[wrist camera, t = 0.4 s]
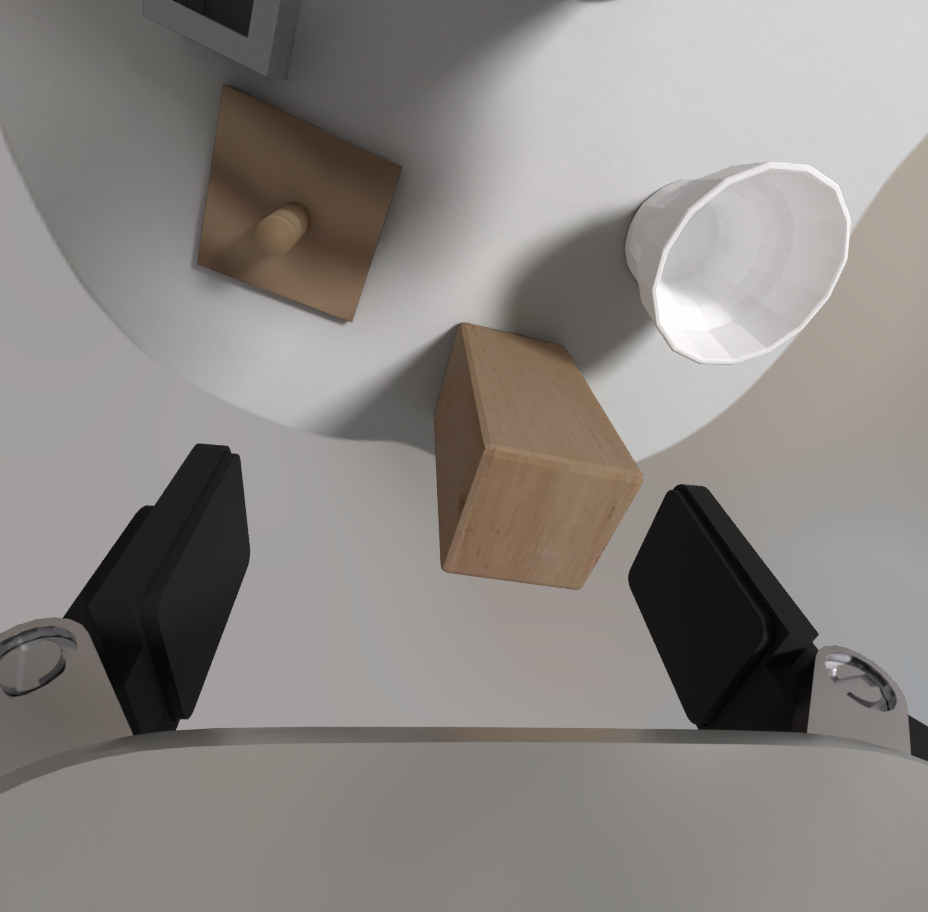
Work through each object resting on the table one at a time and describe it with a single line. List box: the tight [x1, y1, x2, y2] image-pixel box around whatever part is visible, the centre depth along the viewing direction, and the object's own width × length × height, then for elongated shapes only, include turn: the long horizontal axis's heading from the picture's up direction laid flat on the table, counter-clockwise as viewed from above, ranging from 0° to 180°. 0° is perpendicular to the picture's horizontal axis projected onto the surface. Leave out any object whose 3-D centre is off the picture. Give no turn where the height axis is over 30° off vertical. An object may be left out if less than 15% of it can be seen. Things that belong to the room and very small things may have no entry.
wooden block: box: [434, 322, 643, 590], centre depth 39 cm, size 10×10×20 cm
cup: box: [625, 162, 851, 365], centre depth 36 cm, size 12×12×11 cm
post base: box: [197, 84, 402, 322], centre depth 35 cm, size 12×12×8 cm
